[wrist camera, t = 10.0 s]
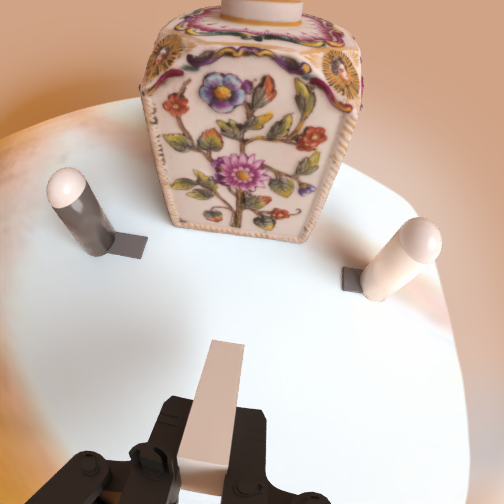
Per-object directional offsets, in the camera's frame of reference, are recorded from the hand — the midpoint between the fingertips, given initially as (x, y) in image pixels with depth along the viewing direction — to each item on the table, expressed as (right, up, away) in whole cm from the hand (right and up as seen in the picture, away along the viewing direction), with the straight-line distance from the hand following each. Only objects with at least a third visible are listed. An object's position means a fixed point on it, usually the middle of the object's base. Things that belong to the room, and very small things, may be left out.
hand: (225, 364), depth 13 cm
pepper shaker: (-12, +6, +10) cm, 17 cm away
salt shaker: (+12, +3, +9) cm, 15 cm away
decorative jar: (+1, +11, +14) cm, 18 cm away
